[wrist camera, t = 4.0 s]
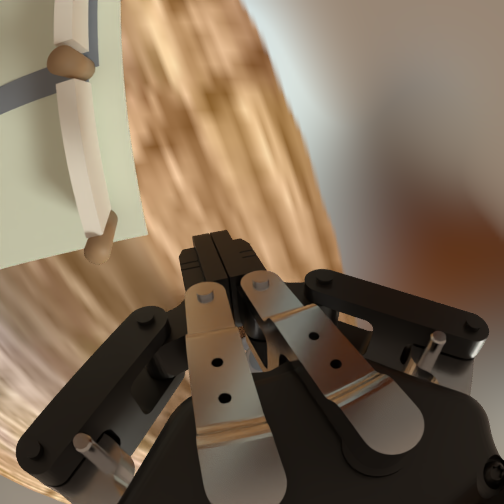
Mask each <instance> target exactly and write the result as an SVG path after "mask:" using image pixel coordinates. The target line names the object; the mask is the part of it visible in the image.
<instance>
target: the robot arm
mask: <svg viewBox="0 0 504 504" xmlns="http://www.w3.org/2000/svg"><path fill="white" fill-rule="evenodd" d="M192 239H193V245H194V248H189V249H184V250H182V252H181V254H180V256H179V260H180V266H181V271H182V276H183V281H184V286H185V291H186V293H185V299H184V301H183V302H182V303H181V304H180V305H179V306H177V307H176V308H174V309H172V310H170V311H168V312H165V311H164V310H163V309H162V308H160V307H156V306H147V307H142V308H140V309H137V310H135V311H134V312H133V313H131V314H130V315H129V316H128V317H127V318H126V320H125V321H124V322H123V323H122V324H121V325H120V326H119V327H118V328H117V329H116V330H115V331H114V332H113V333H112V334H111V335H110V336H109V338H108V339H107V340H106V341H105V342H104V343H103V344H102V345H101V346H100V347H99V348H98V349H97V350H96V352H95V353H94V354H93V355H92V356H91V357H90V358H89V359H88V360H87V361H86V363H85V364H84V365H83V366H82V367H81V368H80V369H79V370H78V371H77V372H76V374H75V375H74V376H73V377H72V378H71V379H70V380H69V381H68V383H67V384H66V385H65V386H64V387H63V388H62V389H61V391H60V392H59V393H58V394H57V395H56V396H55V397H54V399H53V400H52V401H51V402H50V403H49V404H48V406H47V407H46V408H45V409H44V410H43V411H42V413H41V414H40V415H39V416H38V417H37V418H36V420H35V421H34V422H33V423H32V424H31V426H30V427H29V428H28V429H27V430H26V432H25V433H24V434H23V435H22V437H21V438H20V439H19V441H18V444H17V447H16V457H17V461H18V463H19V465H20V466H21V468H22V469H23V470H24V471H26V472H27V473H29V474H30V475H32V476H33V477H35V478H36V479H38V480H39V481H40V482H41V483H43V484H44V485H46V486H47V487H49V488H51V489H52V490H54V491H56V492H58V493H60V494H61V495H63V496H64V497H65V498H66V499H67V500H68V501H70V502H71V503H72V504H504V460H503V459H502V458H501V457H500V455H499V454H498V451H497V449H496V447H495V444H494V441H493V438H492V434H491V430H490V425H489V421H488V417H487V414H486V412H485V411H484V409H483V407H482V406H481V405H480V404H479V403H478V402H477V401H476V400H475V399H474V398H472V397H471V396H470V392H471V384H472V375H473V365H474V359H475V357H476V356H477V354H478V353H479V351H480V349H481V347H482V346H483V344H484V342H485V340H486V339H487V337H488V335H489V328H488V326H487V324H486V322H485V321H484V320H483V319H482V318H480V317H479V316H478V315H476V314H473V313H470V312H467V311H463V310H460V309H457V308H454V307H450V306H447V305H444V304H441V303H437V302H434V301H431V300H428V299H424V298H421V297H418V296H414V295H411V294H408V293H404V292H401V291H398V290H395V289H391V288H388V287H385V286H381V285H378V284H375V283H372V282H368V281H365V280H362V279H358V278H355V277H352V276H348V275H345V274H342V273H338V272H335V271H332V270H327V269H318V270H314V271H311V272H309V273H308V274H307V275H306V276H305V282H302V283H287V282H283V281H282V280H281V278H280V277H279V276H278V275H277V274H275V273H273V272H270V271H267V270H266V269H265V267H264V266H263V264H262V263H261V261H260V259H259V258H258V256H256V253H255V252H254V250H253V249H252V247H251V246H250V244H249V243H248V242H246V241H244V240H242V239H236V240H232V238H231V236H230V235H229V233H228V231H227V230H223V231H218V232H213V233H210V234H209V233H207V234H202V235H197V236H192ZM339 312H342V313H345V314H348V315H351V316H354V317H357V318H360V319H363V320H366V321H368V322H369V323H370V324H371V325H372V326H373V331H367V330H364V329H361V328H358V327H355V326H352V325H349V324H346V323H343V322H341V321H338V317H339ZM240 326H243V327H244V330H245V337H246V342H247V344H248V346H249V348H250V349H251V351H252V353H253V355H254V357H255V359H256V360H257V362H258V364H259V366H260V368H261V370H262V371H263V372H256V373H251V371H250V367H249V364H248V361H247V357H246V354H245V350H244V347H243V343H242V340H241V337H240V333H239V330H238V327H240ZM188 369H189V377H190V386H191V394H192V396H191V397H189V398H188V399H186V400H185V401H184V402H183V403H181V404H180V405H179V406H178V407H177V408H176V410H175V411H174V412H173V413H172V415H171V416H170V418H169V419H168V421H167V423H166V424H165V426H164V428H163V429H162V431H161V433H160V434H159V436H158V438H157V439H156V441H155V443H154V444H153V446H152V448H151V449H150V451H149V453H148V454H147V456H146V458H145V459H144V461H143V463H142V464H141V466H140V467H139V469H138V471H137V472H136V474H135V476H134V473H135V465H134V462H133V460H132V458H131V455H132V454H133V452H134V451H135V449H136V448H137V446H138V445H139V444H140V442H141V441H142V439H143V438H144V436H145V435H146V433H147V432H148V430H149V429H150V427H151V426H152V424H153V423H154V421H155V420H156V418H157V417H158V416H159V414H160V413H161V411H162V410H163V408H164V407H165V405H166V404H167V402H168V401H169V399H170V398H171V396H172V395H173V393H174V392H175V390H176V389H177V387H178V386H179V384H180V383H181V381H182V380H183V378H184V375H185V371H186V370H188Z"/></svg>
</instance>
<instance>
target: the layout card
mask: <svg viewBox="0 0 504 504" xmlns="http://www.w3.org/2000/svg"><path fill="white" fill-rule="evenodd" d="M54 4H55V0H0V269H3V268H7V267H10V266H14V265H18V264H22V263H26V262H30V261H34V260H38V259H42V258H46V257H50V256H54V255H58V254H63V253H67V252H71V251H75V250H80V249H84V248H85V245H86V242H87V240H88V238H86V236H85V233H84V230H83V226H82V223H81V219H80V215H79V212H78V208H77V204H76V200H75V196H74V192H73V188H72V184H71V179H70V175H69V170H68V165H67V160H66V155H65V149H64V144H63V138H62V132H61V125H60V118H59V110H58V101H57V92H56V84H58V83H61V82H64V81H67V80H70V78H67V77H63V76H58V75H54V74H52V73H50V72H49V70H48V68H47V59H48V57H49V55H50V53H51V52H52V51H53V50H54V49H55V48H57V46H55V45H54ZM88 38H89V52H85V53H81V54H83V55H84V56H86V57H87V58H89V59H90V60H92V61H93V62H94V64H95V72H94V74H93V76H92V77H91V78H90V79H88V80H86V82H89V83H91V87H92V97H93V106H94V114H95V122H96V129H97V136H98V142H99V148H100V154H101V160H102V165H103V171H104V176H105V181H106V186H107V190H108V195H109V200H110V204H111V210H112V211H114V212H115V213H116V215H117V217H118V222H117V226H116V231H115V235H114V239H113V242H115V241H120V240H125V239H129V238H134V237H139V236H144V235H148V232H147V227H146V222H145V218H144V213H143V208H142V203H141V198H140V192H139V187H138V181H137V176H136V170H135V164H134V157H133V151H132V144H131V137H130V130H129V122H128V114H127V105H126V95H125V85H124V73H123V59H122V40H121V0H89V2H88Z"/></svg>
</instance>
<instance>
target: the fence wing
mask: <svg viewBox="0 0 504 504" xmlns="http://www.w3.org/2000/svg"><path fill="white" fill-rule="evenodd" d="M56 92H57V101H58V110H59V118H60V125H61V132H62V138H63V144H64V149H65V155H66V160H67V165H68V170H69V175H70V179H71V184H72V188H73V192H74V196H75V200H76V204H77V208H78V212H79V215H80V219H81V223H82V226H83V230H84V233H85V236H86V238H88V240H87V242H86V245H85V248H84V254H85V257H86V259H87V260H88V261H89V262H91V263H93V264H96V265H100V264H103V263H105V262H107V261H108V259H109V257H110V253H111V248H112V244H113V239H114V235H115V231H116V226H117V222H118V217H117V215H116V213H115V212H114V211H112V210H111V204H110V200H109V195H108V190H107V186H106V181H105V176H104V171H103V165H102V160H101V154H100V148H99V142H98V136H97V129H96V122H95V114H94V106H93V97H92V87H91V83H89V82H86V81H82V80H79V79H75V78H74V79H70V80H67V81H64V82H61V83H58V84H56Z"/></svg>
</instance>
